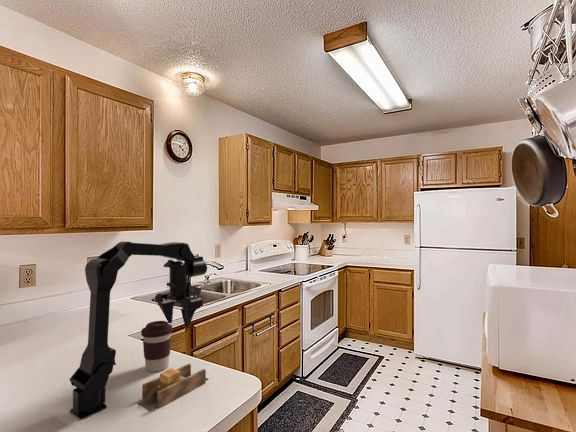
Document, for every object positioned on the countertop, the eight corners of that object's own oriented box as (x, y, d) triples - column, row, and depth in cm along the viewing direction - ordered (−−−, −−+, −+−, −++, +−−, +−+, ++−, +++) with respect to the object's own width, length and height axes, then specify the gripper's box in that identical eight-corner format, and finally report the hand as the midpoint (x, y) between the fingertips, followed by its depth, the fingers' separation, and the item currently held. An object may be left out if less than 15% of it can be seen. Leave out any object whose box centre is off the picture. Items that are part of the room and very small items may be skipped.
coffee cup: (163, 358, 117) (163, 317, 117) (178, 366, 111) (178, 322, 111) (136, 368, 109) (135, 324, 109) (150, 377, 103) (150, 330, 103)
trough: (152, 411, 84) (152, 396, 84) (135, 402, 89) (135, 387, 89) (210, 380, 101) (210, 367, 101) (193, 373, 105) (193, 361, 105)
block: (168, 391, 91) (168, 377, 91) (159, 387, 93) (159, 373, 93) (180, 385, 94) (180, 371, 94) (171, 381, 96) (171, 368, 96)
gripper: (215, 278, 111) (215, 323, 110) (180, 273, 121) (181, 315, 121) (188, 283, 101) (189, 333, 101) (154, 278, 112) (154, 323, 112)
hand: (178, 325), depth 109 cm, fingers open, 9 cm apart
